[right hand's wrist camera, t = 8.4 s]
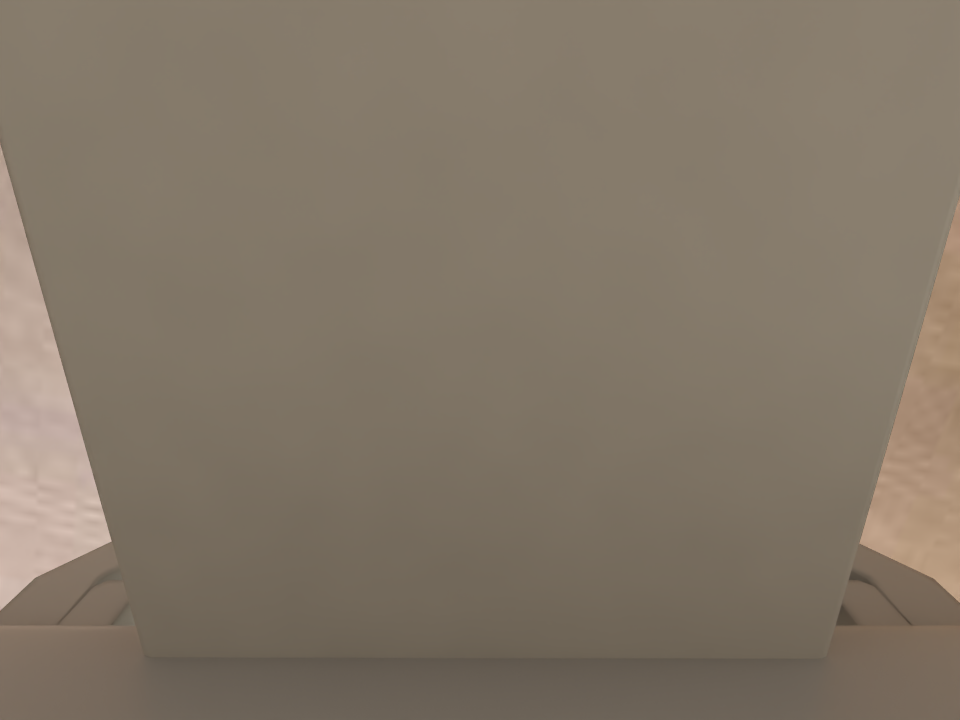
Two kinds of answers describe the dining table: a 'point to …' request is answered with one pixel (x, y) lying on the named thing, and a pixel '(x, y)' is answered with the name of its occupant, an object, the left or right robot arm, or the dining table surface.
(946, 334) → the dining table surface
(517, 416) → the box
